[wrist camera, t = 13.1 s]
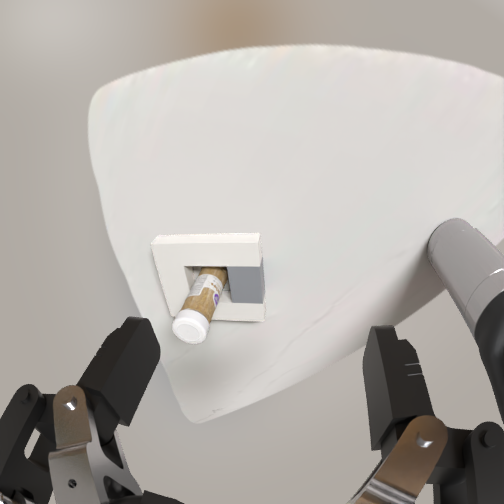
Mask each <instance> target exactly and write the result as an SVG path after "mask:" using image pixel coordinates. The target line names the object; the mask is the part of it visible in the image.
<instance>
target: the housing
mask: <svg viewBox="0 0 504 504" xmlns="http://www.w3.org/2000/svg"><path fill="white" fill-rule="evenodd" d="M150 245H151V249H152V252H153V256H154V260H155V264H156V267H157V271H158V274H159V278H160V281H161V285H162V288H163V291H164V295H165V298H166V301H167V304H168V308H169V311H170V314H171V317H176V315H177V314H178V312H179V311H180V310H181V308H182V306H183V304H184V302H185V299H186V297H187V296H188V294H189V292H190V290H191V288H192V286H193V284H194V282H195V276H194V272H193V267H192V266H227V270H228V277H229V284H230V290H231V291H223V292H222V294H221V297H220V300H219V302H218V305H217V307H216V309H215V311H214V313H213V317H212V319H213V320H233V321H259V322H264V321H265V315H266V298H265V284H264V271H263V257H262V244H261V233H225V234H182V235H158V236H157V237H156V238H155V239H154V241H153V242H152V243H151V244H150Z"/></svg>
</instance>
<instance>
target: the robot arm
mask: <svg viewBox="0 0 504 504" xmlns="http://www.w3.org/2000/svg"><path fill="white" fill-rule="evenodd" d="M427 254H428V259H429V262H430V263H431V265H432V266H433V268H434V269H435V271H436V273H437V274H438V276H439V278H440V279H441V281H442V282H443V284H444V286H445V287H446V289H447V290H448V292H449V294H450V296H451V297H452V299H453V301H454V302H455V304H456V306H457V308H458V309H459V311H460V313H461V315H462V316H463V318H464V320H465V322H466V323H467V326H468V327H469V329H470V331H471V333H472V335H473V337H474V339H475V341H476V343H477V345H478V347H479V352H480V356H481V359H482V361H483V364H484V366H485V369H486V371H487V374H488V376H489V379H490V382H491V385H492V388H493V391H494V395H495V398H496V402H497V405H498V408H499V412H500V414H501V418H502V421H503V424H504V255H503V254H502V253H501V252H500V251H499V250H498V249H497V248H496V247H495V246H494V245H493V244H492V243H491V242H490V241H489V240H488V239H487V238H486V237H485V236H484V235H483V234H482V233H481V232H480V231H479V230H478V229H476V228H473V227H472V226H471V225H470V224H469V223H468V222H466V221H465V220H462V219H450V220H448V221H446V222H444V223H443V224H441V225H440V226H439V227H438V228H437V229H436V230H435V231H434V233H433V234H432V236H431V238H430V240H429V244H428V249H427ZM159 359H160V345H159V343H158V340H157V338H156V336H155V333H154V331H153V328H152V325H151V323H150V321H149V320H148V319H147V318H139V317H128V318H127V319H126V320H125V322H124V323H123V325H122V326H121V328H117V329H116V330H115V331H113V332H112V333H111V334H110V335H109V336H107V338H106V339H105V341H104V342H103V344H102V345H101V348H99V350H98V352H97V353H96V356H94V358H93V359H92V361H91V362H90V364H89V366H88V367H87V369H86V370H85V372H84V373H83V375H82V377H81V378H80V380H79V382H78V383H77V384H76V386H75V385H69V386H66V387H64V388H62V389H61V390H60V391H59V392H58V393H57V394H41V392H40V391H39V390H38V389H37V388H36V387H35V386H34V385H32V384H26V385H23V386H22V387H20V388H19V389H18V390H17V391H16V393H15V394H14V396H13V398H12V399H11V401H10V403H9V405H8V406H7V408H6V410H5V411H4V413H3V415H2V417H1V419H0V504H48V502H49V500H50V497H51V494H52V491H53V490H54V495H55V500H56V504H184V503H182V502H180V501H178V500H176V499H172V498H168V497H165V496H162V495H158V494H155V493H152V492H148V491H146V490H144V493H142V491H141V489H140V487H139V485H138V483H137V482H136V480H135V479H134V478H133V476H132V475H131V473H130V471H129V468H128V465H127V462H126V459H125V456H124V453H123V449H122V446H121V442H120V439H119V435H118V432H117V430H116V427H117V425H118V424H121V425H125V426H129V425H130V423H131V421H132V418H133V416H134V414H135V411H136V410H137V407H138V405H139V403H140V401H141V398H142V396H143V394H144V392H145V390H146V388H147V385H148V383H149V381H150V379H151V377H152V375H153V372H154V370H155V368H156V366H157V364H158V362H159ZM363 375H364V382H365V390H366V398H367V406H368V416H369V426H370V436H371V450H372V451H373V450H381V455H382V459H381V460H380V462H379V463H378V465H377V466H376V467H375V469H374V470H373V471H372V473H371V474H370V476H369V477H368V478H367V479H366V481H365V482H364V483H363V485H362V486H361V487H360V488H359V489H358V491H357V492H356V493H355V494H354V495H353V497H352V498H351V499H350V500H349V501H348V502H347V504H415V500H416V498H417V497H418V495H419V493H420V492H421V490H422V488H423V487H424V485H425V483H426V484H433V493H434V504H504V431H503V429H502V428H501V427H500V426H499V425H498V424H496V423H494V422H484V423H481V424H480V425H478V426H477V427H476V428H475V429H474V430H464V429H454V428H449V427H447V426H445V424H444V423H443V422H442V421H441V420H440V419H438V418H436V416H435V414H434V412H433V409H432V405H431V401H430V397H429V394H428V390H427V387H426V383H425V379H424V376H423V375H422V369H421V366H420V365H419V359H418V356H417V353H416V350H415V349H414V348H413V346H412V345H411V344H410V343H409V342H408V341H407V340H406V339H404V340H398V338H397V335H396V331H395V328H394V326H393V325H388V326H372V327H371V329H370V333H369V337H368V341H367V345H366V348H365V352H364V357H363ZM34 428H35V429H36V430H37V431H39V432H40V433H41V434H40V436H39V438H38V440H37V442H36V444H35V446H34V449H33V451H32V453H31V455H30V457H29V458H28V459H26V457H25V454H24V449H25V447H26V445H27V443H28V441H29V439H30V437H31V434H32V432H33V430H34Z"/></svg>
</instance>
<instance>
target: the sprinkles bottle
mask: <svg viewBox="0 0 504 504" xmlns="http://www.w3.org/2000/svg"><path fill="white" fill-rule="evenodd" d="M227 280H228V273H227V271H226V269H225V268H224V267H222V266H203V267H202V268H201V271H200V274H199V276H198V277H197V279H196V280H195V282H194V284H193V286H192V288H191V290H190V292H189V294H188V296H187V297H186V299H185V302H184V304H183V306H182V308H181V310H180V311H179V312H178V314H177V315H176V317H175V319H174V321H173V323H172V330H173V332H174V334H175V335H176V336H177V337H178V338H179V339H180V340H182V341H184V342H186V343H190V344H199V343H201V342H203V341H204V340H205V339H206V336H207V334H208V332H209V328H210V326H209V325H210V322H211V319H212V317H213V313H214V311H215V309H216V307H217V305H218V302H219V300H220V297H221V294H222V292H223V288H224V286H225V284H226V282H227Z"/></svg>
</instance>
